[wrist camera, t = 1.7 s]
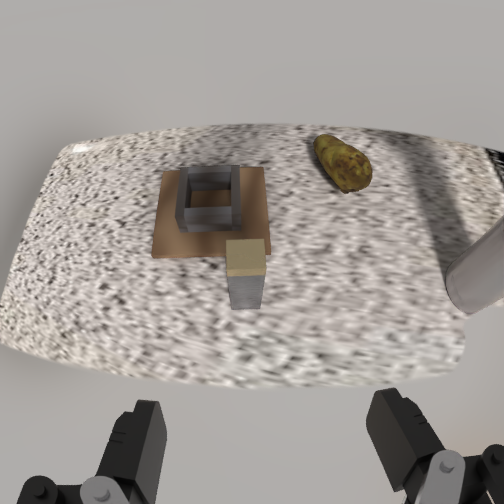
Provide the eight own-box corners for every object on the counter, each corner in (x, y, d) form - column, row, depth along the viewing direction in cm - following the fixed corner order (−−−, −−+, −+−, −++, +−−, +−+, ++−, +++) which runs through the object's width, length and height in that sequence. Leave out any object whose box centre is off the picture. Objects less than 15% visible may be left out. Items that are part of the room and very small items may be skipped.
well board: (263, 171, 48) (264, 148, 44) (270, 254, 41) (273, 235, 37) (164, 175, 48) (158, 154, 43) (153, 258, 41) (143, 240, 36)
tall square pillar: (258, 286, 39) (264, 238, 29) (260, 308, 38) (266, 268, 27) (231, 287, 39) (226, 240, 28) (231, 309, 38) (226, 269, 27)
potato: (354, 152, 51) (366, 119, 44) (365, 210, 45) (382, 176, 38) (310, 147, 51) (317, 111, 44) (314, 204, 45) (324, 168, 38)
